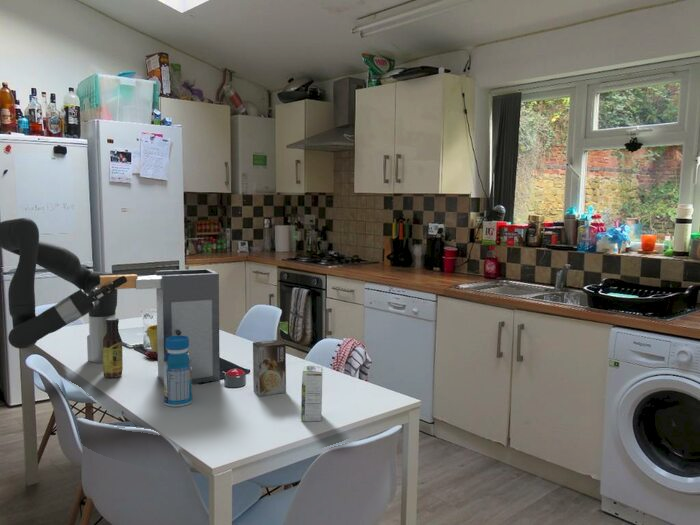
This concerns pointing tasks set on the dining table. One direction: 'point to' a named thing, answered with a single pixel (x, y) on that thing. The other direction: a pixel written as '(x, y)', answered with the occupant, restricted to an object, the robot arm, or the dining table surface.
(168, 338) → the beverage bottle
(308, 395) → the drink carton
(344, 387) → the dining table surface
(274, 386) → the coffee box
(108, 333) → the sauce bottle
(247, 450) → the dining table surface
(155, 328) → the plant pot
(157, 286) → the wooden handled hammer
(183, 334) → the small grey cabinet
